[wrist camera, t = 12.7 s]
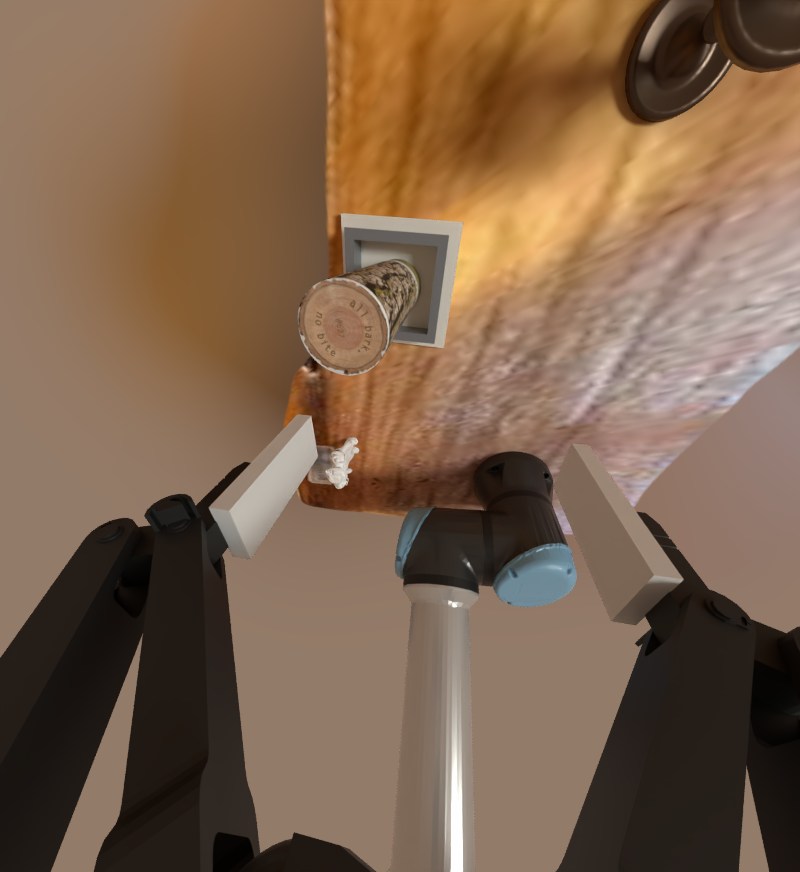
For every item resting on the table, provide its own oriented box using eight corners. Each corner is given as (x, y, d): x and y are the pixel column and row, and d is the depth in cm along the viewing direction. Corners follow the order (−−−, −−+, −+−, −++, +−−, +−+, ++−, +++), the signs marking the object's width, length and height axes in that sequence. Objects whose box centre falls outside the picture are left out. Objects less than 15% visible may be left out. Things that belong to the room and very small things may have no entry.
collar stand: (443, 346, 46) (443, 355, 42) (348, 335, 47) (339, 343, 43) (462, 222, 37) (464, 220, 33) (343, 213, 38) (331, 210, 34)
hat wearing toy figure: (342, 426, 58) (319, 463, 48) (360, 428, 58) (341, 467, 48) (344, 460, 63) (324, 500, 53) (361, 462, 63) (344, 503, 53)
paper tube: (421, 258, 38) (386, 278, 18) (419, 311, 42) (389, 377, 22) (373, 258, 39) (287, 277, 19) (375, 310, 43) (307, 373, 23)
